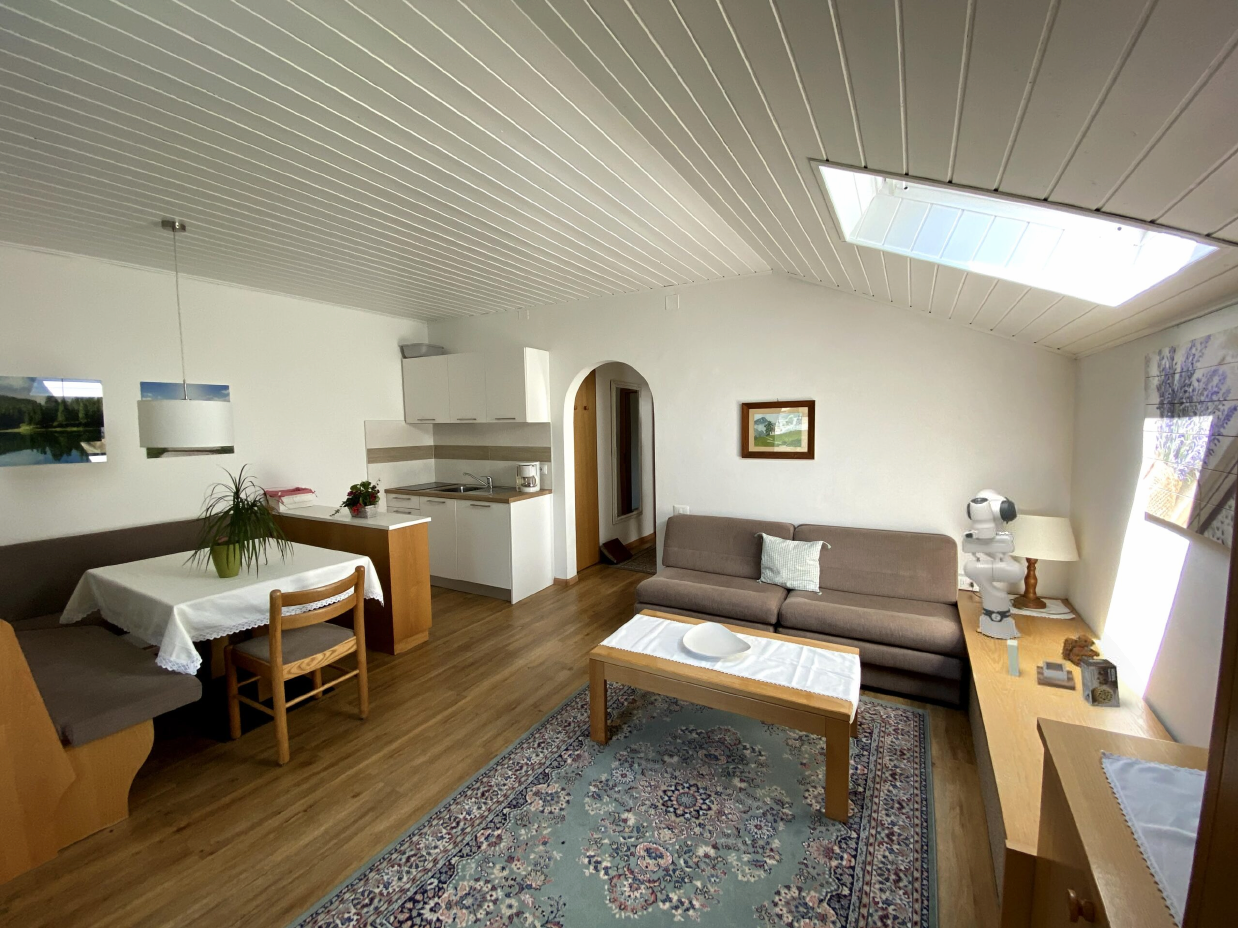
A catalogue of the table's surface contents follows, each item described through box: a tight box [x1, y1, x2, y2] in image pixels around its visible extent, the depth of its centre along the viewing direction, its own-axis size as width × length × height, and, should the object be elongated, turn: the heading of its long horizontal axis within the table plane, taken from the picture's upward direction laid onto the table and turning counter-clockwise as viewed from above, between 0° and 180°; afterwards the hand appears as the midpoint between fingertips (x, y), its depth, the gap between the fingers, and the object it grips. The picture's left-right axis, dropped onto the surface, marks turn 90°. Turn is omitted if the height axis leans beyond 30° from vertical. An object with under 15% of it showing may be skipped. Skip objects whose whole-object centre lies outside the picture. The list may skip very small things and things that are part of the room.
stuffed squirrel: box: [1060, 633, 1101, 668], centre depth 235 cm, size 10×14×13 cm
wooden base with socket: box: [1036, 660, 1076, 691], centre depth 223 cm, size 16×12×6 cm
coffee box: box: [1080, 658, 1121, 707], centre depth 203 cm, size 9×6×16 cm
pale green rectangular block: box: [1006, 639, 1020, 677], centre depth 231 cm, size 6×4×14 cm, turn 143°
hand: (990, 561), depth 244 cm, fingers open, 8 cm apart
